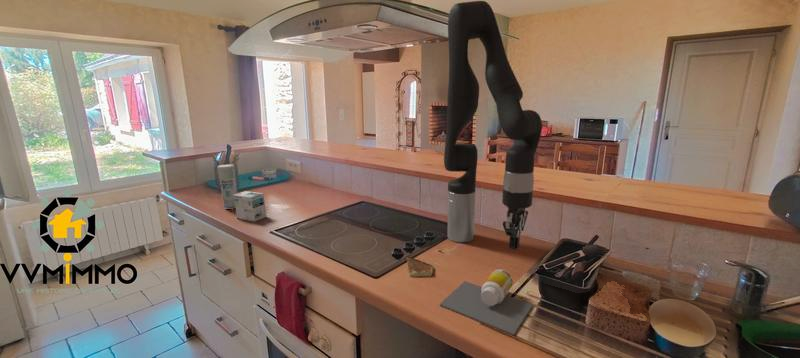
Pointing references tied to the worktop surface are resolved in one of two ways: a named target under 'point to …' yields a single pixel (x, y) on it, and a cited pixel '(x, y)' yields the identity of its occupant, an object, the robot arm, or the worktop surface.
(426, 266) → the shard
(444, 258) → the worktop surface
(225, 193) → the spray can
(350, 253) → the worktop surface
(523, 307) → the mat
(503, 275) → the supplement bottle
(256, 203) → the light bulb box
